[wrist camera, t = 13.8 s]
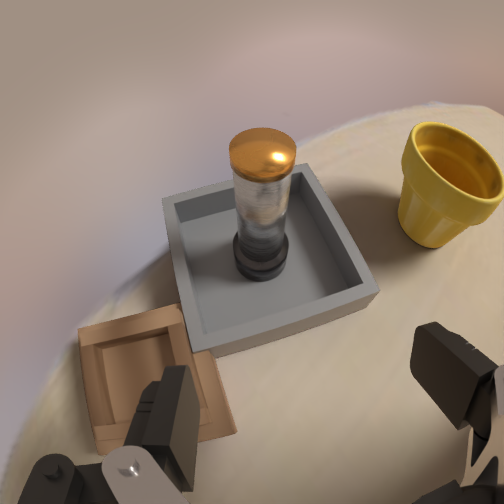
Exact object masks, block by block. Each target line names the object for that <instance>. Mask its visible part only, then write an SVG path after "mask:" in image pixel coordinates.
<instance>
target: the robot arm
mask: <svg viewBox="0 0 504 504" xmlns="http://www.w3.org/2000/svg"><path fill="white" fill-rule="evenodd" d="M410 369H411V373H412V375H413V377H414V378H415V379H416V380H417V381H418V383H419V384H420V385H421V386H422V387H423V389H424V390H425V391H426V392H427V393H428V395H429V396H430V397H431V398H432V399H433V401H434V402H435V403H436V404H437V405H438V407H439V408H440V409H441V410H442V412H443V413H444V414H445V415H446V416H447V418H448V419H449V420H450V421H451V423H452V424H453V425H454V426H455V428H456V429H457V430H460V429H462V428H464V427H465V426H467V425H469V424H470V425H471V426H472V428H471V430H470V432H469V440H468V451H467V460H466V468H465V474H464V478H463V480H462V482H461V485H460V486H459V484H458V483H457V481H456V480H453V481H451V482H450V483H448V484H446V485H444V486H442V487H440V488H438V489H436V490H434V491H432V492H430V493H428V494H426V495H424V496H422V497H420V498H419V499H418V500H416V501H415V502H414V503H412V504H504V365H501V366H498V365H496V364H495V363H494V362H493V361H492V360H490V359H489V358H488V357H487V356H485V355H484V354H483V353H482V352H480V351H479V350H478V349H475V347H474V346H473V345H472V344H470V343H468V341H467V340H465V339H464V338H463V337H461V336H460V335H458V334H456V333H453V332H450V331H448V330H447V329H445V328H444V327H443V326H442V325H440V324H439V323H438V322H431V323H428V324H424V325H421V326H418V327H417V328H416V330H415V334H414V341H413V347H412V353H411V359H410ZM199 423H200V404H199V399H198V395H197V392H196V388H195V385H194V381H193V377H192V374H191V370H190V367H189V366H188V365H176V366H166V367H165V369H164V372H163V375H162V378H161V381H152V382H151V383H150V384H149V385H148V386H147V387H146V388H145V389H144V390H143V391H142V394H141V397H140V400H139V404H138V405H137V408H136V413H134V416H133V419H132V422H131V424H130V427H129V430H128V433H127V436H126V439H125V441H124V444H123V446H122V447H119V448H116V449H114V450H112V451H111V452H110V453H108V454H107V456H106V457H105V458H104V460H103V462H102V463H98V464H89V465H79V466H75V465H74V464H73V462H72V461H71V460H70V459H69V458H68V457H66V456H64V455H62V454H49V455H46V456H44V457H42V458H41V459H39V460H38V461H37V462H36V464H35V465H34V467H33V469H32V471H31V473H30V476H29V478H28V480H27V482H26V485H25V487H24V489H23V492H22V494H21V496H20V499H19V501H18V504H190V503H189V502H188V501H187V500H186V499H185V497H184V496H183V495H182V491H184V492H193V487H194V475H195V464H196V453H197V443H198V433H199Z"/></svg>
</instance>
